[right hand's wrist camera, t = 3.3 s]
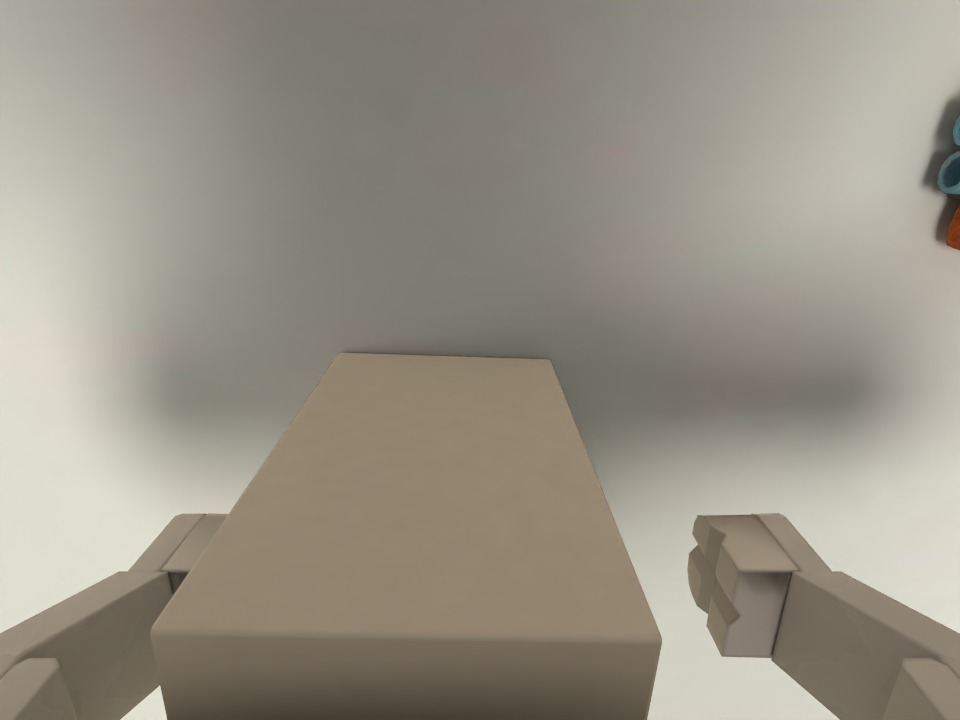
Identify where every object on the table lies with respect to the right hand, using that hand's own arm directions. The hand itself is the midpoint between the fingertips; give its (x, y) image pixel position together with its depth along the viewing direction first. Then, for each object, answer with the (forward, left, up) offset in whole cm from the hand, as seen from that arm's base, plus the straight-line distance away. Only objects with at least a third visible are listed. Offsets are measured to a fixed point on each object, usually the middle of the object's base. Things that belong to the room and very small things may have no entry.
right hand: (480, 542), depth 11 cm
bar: (+10, -1, -5) cm, 11 cm away
